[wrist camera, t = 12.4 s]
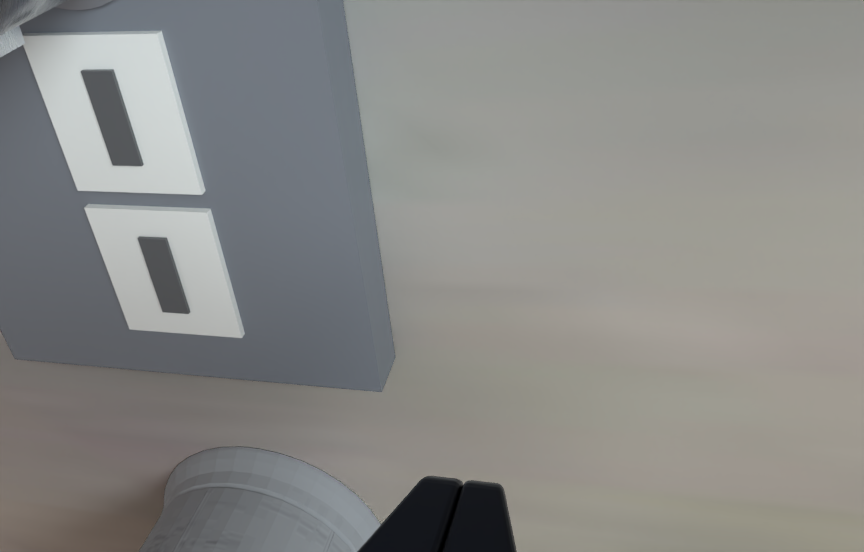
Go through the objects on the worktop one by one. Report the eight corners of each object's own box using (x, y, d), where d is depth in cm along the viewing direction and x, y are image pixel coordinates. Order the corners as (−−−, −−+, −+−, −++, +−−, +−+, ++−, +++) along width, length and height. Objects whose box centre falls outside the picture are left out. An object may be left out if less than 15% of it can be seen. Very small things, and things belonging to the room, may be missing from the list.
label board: (395, 357, 24) (378, 399, 23) (43, 329, 27) (8, 365, 25) (302, -275, 15) (266, -272, 14) (-203, -221, 18) (-278, -213, 17)
